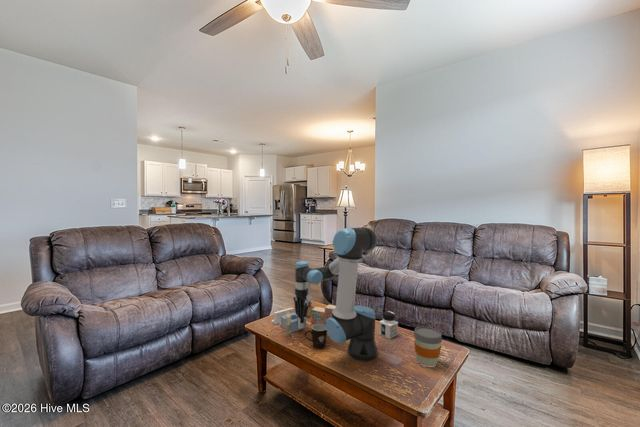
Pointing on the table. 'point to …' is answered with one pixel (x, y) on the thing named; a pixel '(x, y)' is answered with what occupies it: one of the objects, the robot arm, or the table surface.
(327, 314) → the stack of blocks
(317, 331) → the coffee mug
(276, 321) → the wall
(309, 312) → the candle holder
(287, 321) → the dowel
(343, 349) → the table surface
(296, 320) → the block
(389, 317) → the container
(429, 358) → the reusable coffee cup
